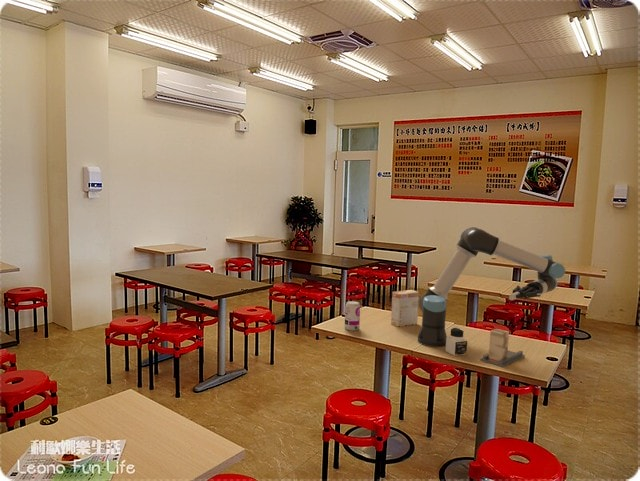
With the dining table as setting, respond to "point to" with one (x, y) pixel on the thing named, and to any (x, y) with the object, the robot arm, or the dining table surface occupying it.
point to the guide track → (505, 361)
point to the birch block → (498, 344)
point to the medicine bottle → (456, 342)
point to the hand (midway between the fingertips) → (510, 297)
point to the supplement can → (352, 315)
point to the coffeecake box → (404, 307)
